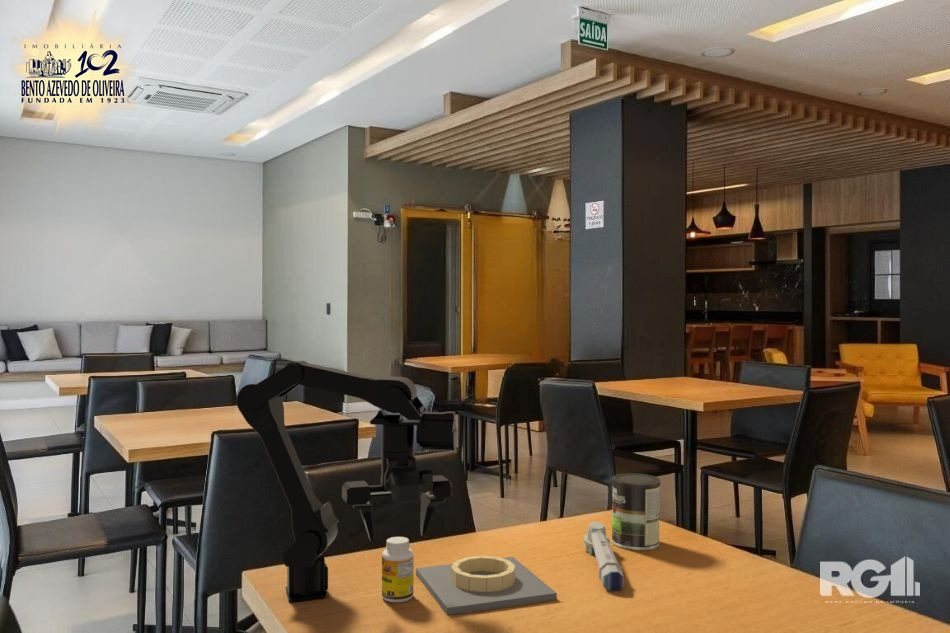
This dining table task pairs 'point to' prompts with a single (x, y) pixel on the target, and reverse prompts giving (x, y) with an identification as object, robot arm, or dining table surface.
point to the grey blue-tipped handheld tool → (604, 556)
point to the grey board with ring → (483, 584)
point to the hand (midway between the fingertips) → (397, 538)
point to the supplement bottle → (397, 570)
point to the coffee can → (635, 511)
